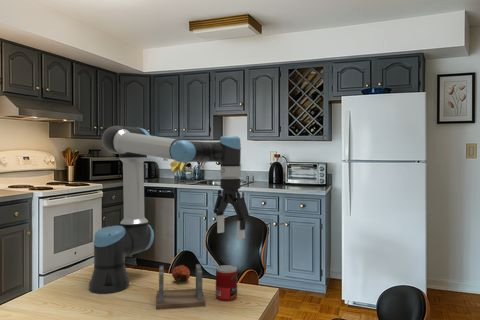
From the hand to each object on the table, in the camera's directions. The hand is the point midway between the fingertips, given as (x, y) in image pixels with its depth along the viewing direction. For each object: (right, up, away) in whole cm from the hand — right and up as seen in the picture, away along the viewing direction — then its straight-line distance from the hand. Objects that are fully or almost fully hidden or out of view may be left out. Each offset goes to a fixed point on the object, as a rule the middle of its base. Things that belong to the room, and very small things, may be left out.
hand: (230, 235), depth 141 cm
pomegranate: (-21, -23, +18) cm, 36 cm away
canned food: (-2, -24, +1) cm, 24 cm away
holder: (-18, -23, -2) cm, 30 cm away
